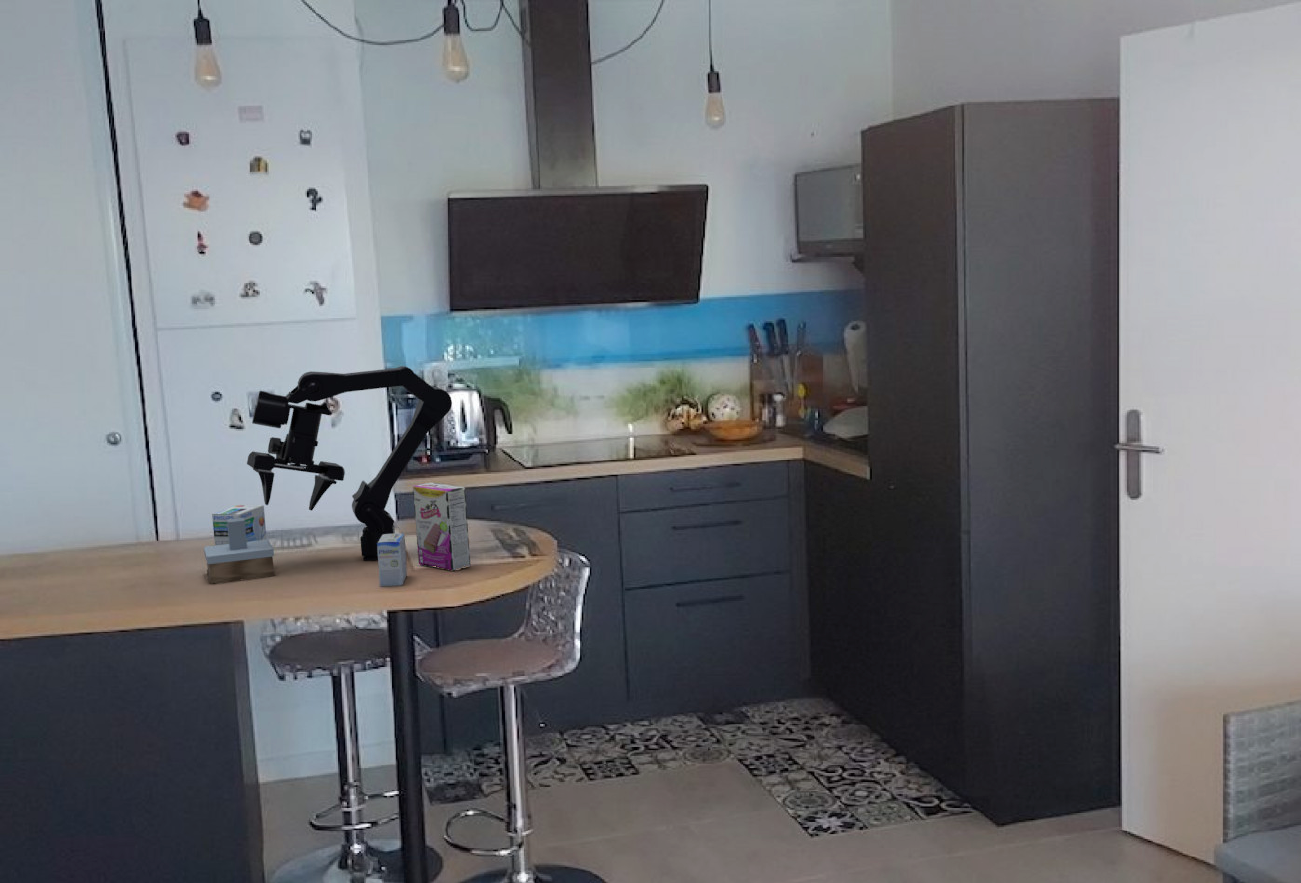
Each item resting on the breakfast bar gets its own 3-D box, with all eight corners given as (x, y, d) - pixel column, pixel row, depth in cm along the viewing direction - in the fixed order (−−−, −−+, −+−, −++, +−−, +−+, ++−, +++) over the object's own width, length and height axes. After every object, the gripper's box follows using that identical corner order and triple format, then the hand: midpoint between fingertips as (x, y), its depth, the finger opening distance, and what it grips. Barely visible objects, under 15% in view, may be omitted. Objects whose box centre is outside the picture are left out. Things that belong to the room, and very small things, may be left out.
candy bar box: (417, 565, 260) (411, 485, 258) (436, 560, 264) (430, 481, 262) (452, 572, 253) (446, 490, 251) (471, 567, 257) (466, 486, 254)
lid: (268, 546, 266) (265, 512, 265) (274, 556, 257) (270, 520, 256) (204, 554, 262) (201, 519, 261) (207, 564, 252) (204, 528, 251)
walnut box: (269, 565, 267) (268, 546, 266) (274, 575, 257) (273, 556, 257) (207, 573, 262) (205, 554, 262) (210, 584, 253) (208, 564, 252)
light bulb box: (244, 564, 269) (239, 513, 268) (215, 564, 271) (210, 514, 269) (269, 552, 280) (264, 504, 278) (240, 552, 281) (236, 504, 280)
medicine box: (384, 577, 251) (381, 534, 250) (407, 576, 252) (404, 532, 251) (379, 587, 244) (376, 542, 243) (403, 585, 244) (400, 540, 243)
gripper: (334, 433, 274) (320, 505, 275) (247, 420, 264) (232, 494, 265) (352, 441, 265) (337, 515, 266) (262, 428, 255) (247, 505, 255)
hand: (288, 507), depth 263 cm, fingers open, 9 cm apart
